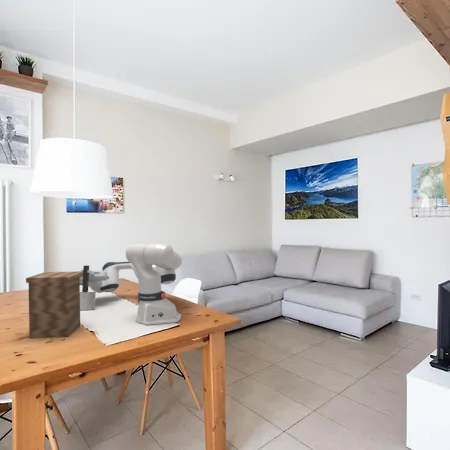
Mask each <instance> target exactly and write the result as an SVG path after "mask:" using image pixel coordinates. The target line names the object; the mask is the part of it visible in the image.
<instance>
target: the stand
mask: <svg viewBox="0 0 450 450" xmlns="http://www.w3.org/2000/svg"><path fill="white" fill-rule="evenodd" d="M81 276H83V271H81V270H80V271H44V272H41V273H38V274H35V275H32V276H29V277H25V283H26V284H28V325H29V326H28V329H29V330H28V331H29V334H28V335H29V336H28V337H29V339H42V338H43V339H47V338H68V337H69V336H71V335H72V334H73V333H74V332H76V330H78V329H79V328H80V327H81V310H80V292H81V288H80V286H81V285H80V277H81Z"/></svg>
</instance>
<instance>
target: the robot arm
mask: <svg viewBox="0 0 450 450" xmlns="http://www.w3.org/2000/svg"><path fill="white" fill-rule="evenodd" d="M125 258H126V260H127V261H120V262H119V261H108V262H105V263H104V265H102V267H101V269H102V270H98V271H96V270H91V269H89V270H87V273H88V274H89V283H88V288H89V289H90V290H92V292H96V293H98V294H101V293H110V292H114V291H115V290H117V289H118V288H119V287H120V275H119V274H120V270H121V271H122V270H132V271H133V272H134V275H135V277H136V278H137V281H138V293H137V303H138V308H137V314H136V317H135V321H136V322H137V323H139V324H142V325H145V326H153V325H163V324H172V323H173V324H174V323H177V322H180V321H181V319H182V314H181V313H179V312H178V311H177V308H176V304H174V303H173V302H172V301H170V300H169V299H167V298H166V291H163V290H162V285H171V284H172V283H174V282H175V280H176V279H177V274H176V270H177V269H178V268H179V267H181V265H182V260H183V259H182V256H180V254H179V253H177V252H176V251H174V248H173V246H172V245H170V244H169V243H168V244H167V243H163V242H135V243H131V244H129V245H128V246H127V247H126V250H125ZM80 271H83V269H80ZM80 286H83V276H81V277H80Z"/></svg>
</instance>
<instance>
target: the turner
mask: <svg viewBox="0 0 450 450" xmlns="http://www.w3.org/2000/svg"><path fill="white" fill-rule="evenodd" d="M82 267H83V268H82V270H83V285H81V286H82V289H81V291H80V311H95V310H96V295H97V294H96V293H97V292H94V291H89V287H88V283H89V274H88V273H87V270H90V265H83V266H82Z"/></svg>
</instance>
